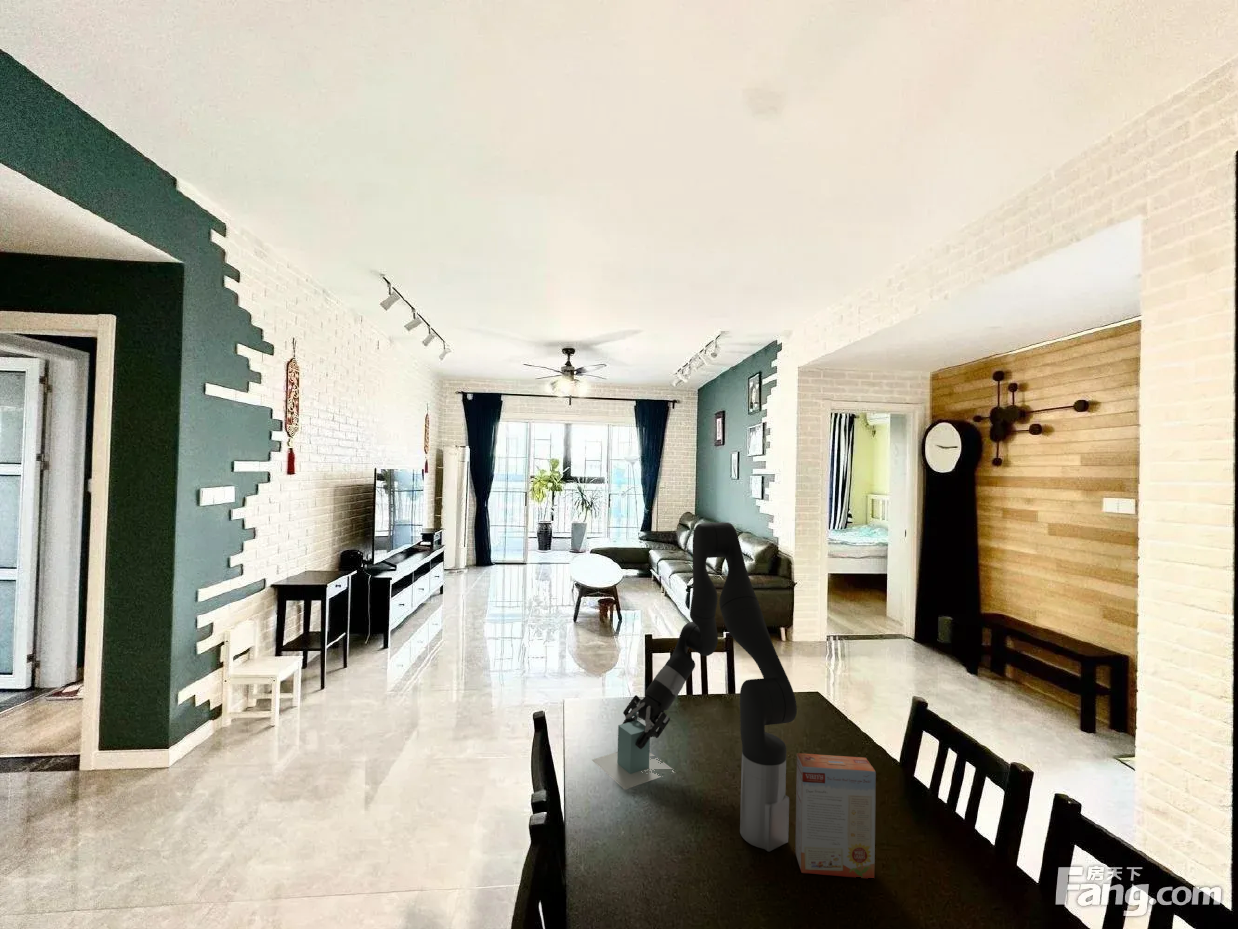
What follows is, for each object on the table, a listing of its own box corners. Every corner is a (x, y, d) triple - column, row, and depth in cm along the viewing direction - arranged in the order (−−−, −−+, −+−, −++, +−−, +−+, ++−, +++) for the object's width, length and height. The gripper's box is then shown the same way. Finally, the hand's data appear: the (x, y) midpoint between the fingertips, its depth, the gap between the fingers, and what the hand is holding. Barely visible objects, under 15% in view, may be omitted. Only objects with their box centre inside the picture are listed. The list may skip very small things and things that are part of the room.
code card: (676, 771, 144) (676, 771, 144) (624, 790, 135) (624, 789, 135) (640, 745, 157) (640, 744, 157) (591, 760, 148) (591, 759, 148)
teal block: (649, 767, 145) (650, 729, 145) (630, 774, 142) (631, 734, 142) (635, 757, 150) (636, 720, 150) (617, 763, 147) (618, 725, 147)
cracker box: (864, 859, 113) (867, 756, 113) (875, 881, 107) (877, 772, 107) (793, 852, 114) (796, 750, 115) (800, 874, 108) (803, 766, 109)
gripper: (642, 671, 156) (606, 721, 150) (674, 688, 144) (636, 744, 138) (657, 686, 159) (622, 736, 153) (689, 704, 147) (653, 760, 141)
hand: (629, 740), depth 145 cm, fingers open, 7 cm apart
